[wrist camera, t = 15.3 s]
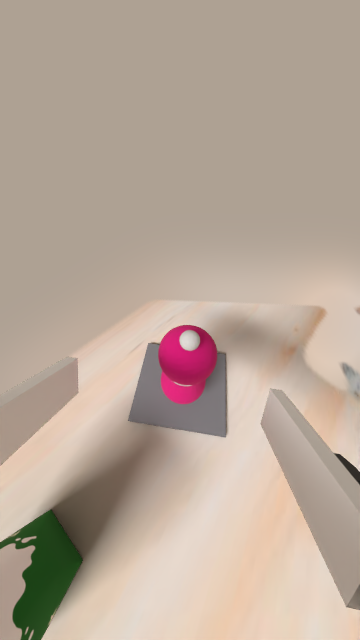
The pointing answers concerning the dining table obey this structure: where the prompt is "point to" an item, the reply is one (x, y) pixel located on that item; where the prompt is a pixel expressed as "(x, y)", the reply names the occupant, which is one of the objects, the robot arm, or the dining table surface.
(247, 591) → the dining table surface
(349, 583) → the robot arm
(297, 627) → the dining table surface
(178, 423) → the rubber mat
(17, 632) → the milk carton
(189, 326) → the pepper mill
